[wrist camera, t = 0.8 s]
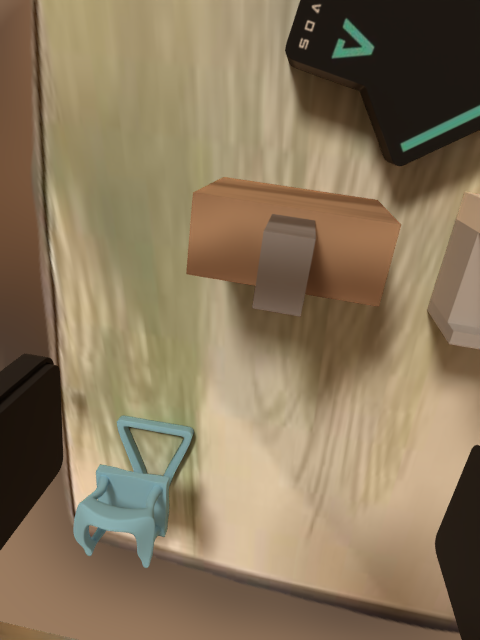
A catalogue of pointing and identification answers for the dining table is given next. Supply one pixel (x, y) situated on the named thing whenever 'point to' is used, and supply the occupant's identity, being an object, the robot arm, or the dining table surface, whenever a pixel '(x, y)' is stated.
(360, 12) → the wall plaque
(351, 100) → the dining table surface
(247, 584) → the dining table surface
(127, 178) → the dining table surface
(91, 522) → the chair
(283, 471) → the dining table surface
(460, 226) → the wall board
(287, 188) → the walnut cabinet
